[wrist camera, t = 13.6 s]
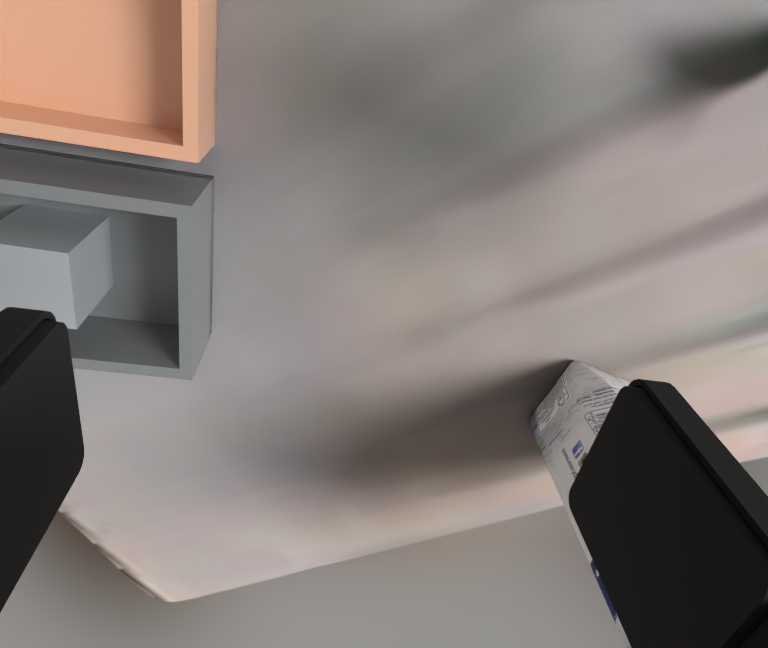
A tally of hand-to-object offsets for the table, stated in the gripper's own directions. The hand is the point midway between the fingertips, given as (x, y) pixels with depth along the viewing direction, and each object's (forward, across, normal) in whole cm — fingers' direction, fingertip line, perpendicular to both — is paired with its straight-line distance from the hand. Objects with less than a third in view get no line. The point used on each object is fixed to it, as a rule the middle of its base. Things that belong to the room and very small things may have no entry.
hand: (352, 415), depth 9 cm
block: (+27, +17, +11) cm, 34 cm away
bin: (+28, +17, +11) cm, 35 cm away
